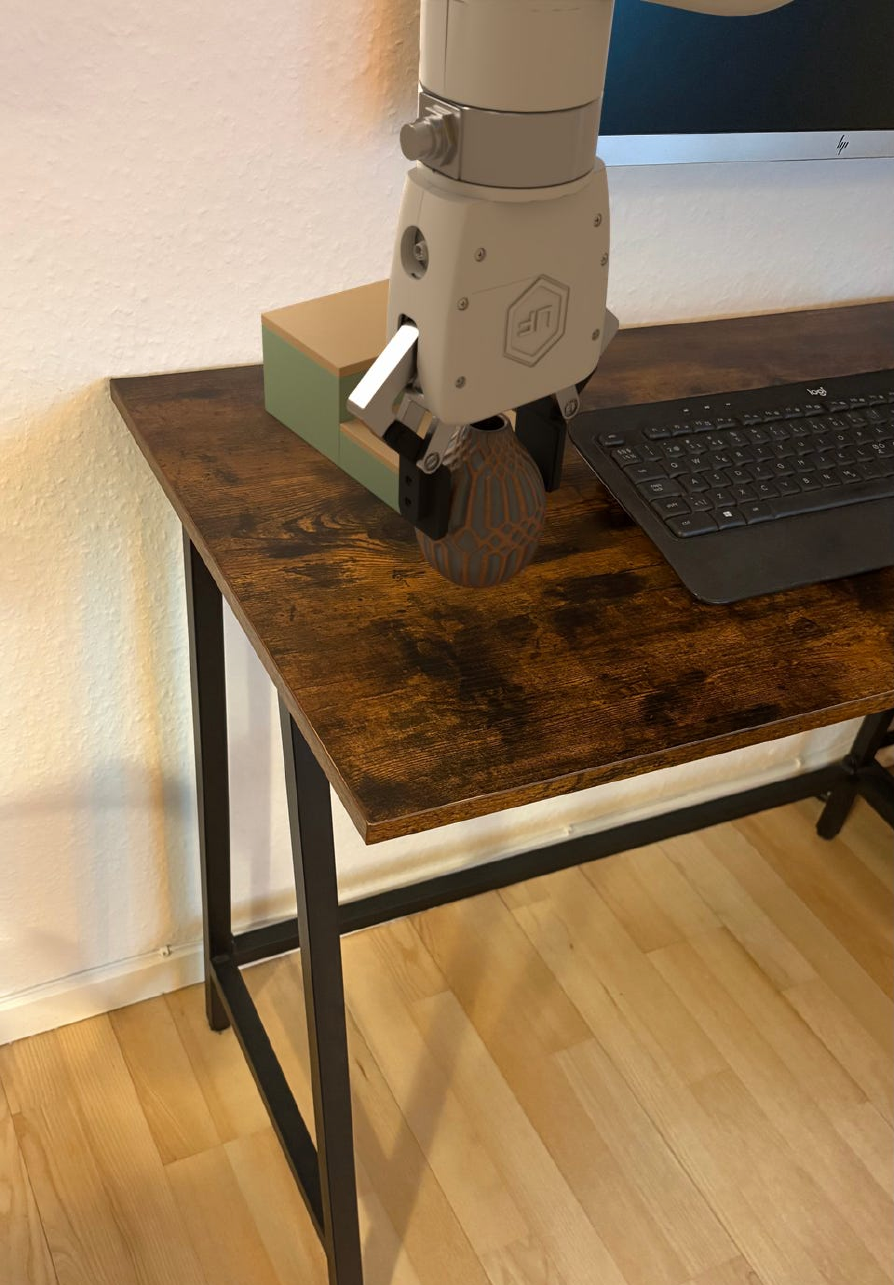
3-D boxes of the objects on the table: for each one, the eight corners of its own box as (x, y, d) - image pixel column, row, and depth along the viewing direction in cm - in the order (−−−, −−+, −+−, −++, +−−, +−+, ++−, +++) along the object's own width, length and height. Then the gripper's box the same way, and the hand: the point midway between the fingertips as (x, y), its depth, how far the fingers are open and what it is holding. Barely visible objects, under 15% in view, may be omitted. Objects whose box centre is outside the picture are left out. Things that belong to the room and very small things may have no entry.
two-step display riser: (539, 475, 92) (552, 377, 87) (413, 524, 87) (418, 424, 81) (387, 371, 102) (390, 278, 96) (264, 410, 96) (260, 313, 91)
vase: (478, 517, 70) (488, 372, 64) (565, 572, 67) (585, 426, 60) (386, 561, 67) (387, 414, 60) (472, 623, 63) (484, 473, 57)
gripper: (396, 205, 45) (390, 598, 58) (715, 122, 53) (648, 483, 66) (282, 144, 49) (300, 524, 62) (595, 75, 57) (554, 424, 70)
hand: (480, 500), depth 64 cm, fingers closed on vase, 6 cm apart
